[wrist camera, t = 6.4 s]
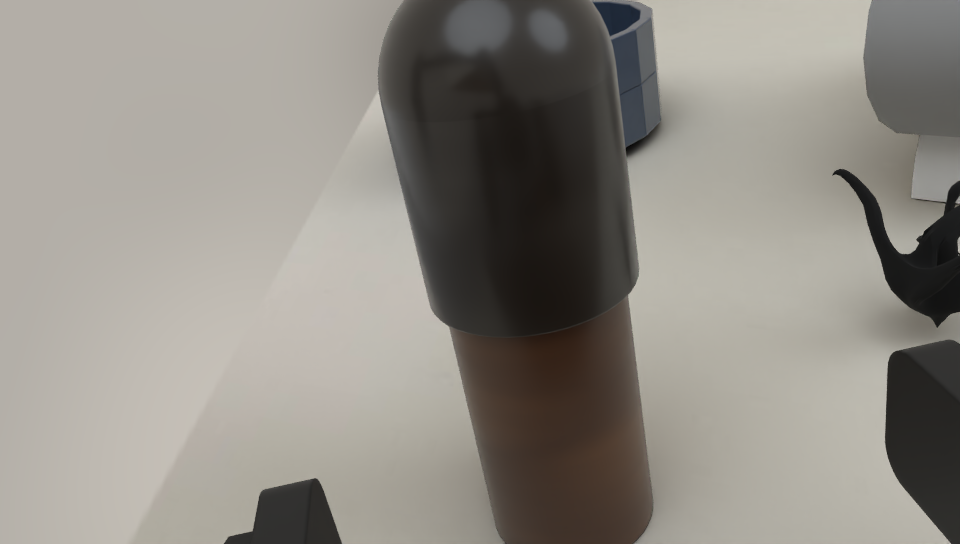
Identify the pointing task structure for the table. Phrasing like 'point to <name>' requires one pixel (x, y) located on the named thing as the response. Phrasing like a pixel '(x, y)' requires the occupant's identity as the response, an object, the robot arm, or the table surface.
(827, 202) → the table surface
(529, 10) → the two-tone capsule
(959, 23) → the alarm clock
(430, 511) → the table surface
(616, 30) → the bowl
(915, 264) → the creature
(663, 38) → the table surface
